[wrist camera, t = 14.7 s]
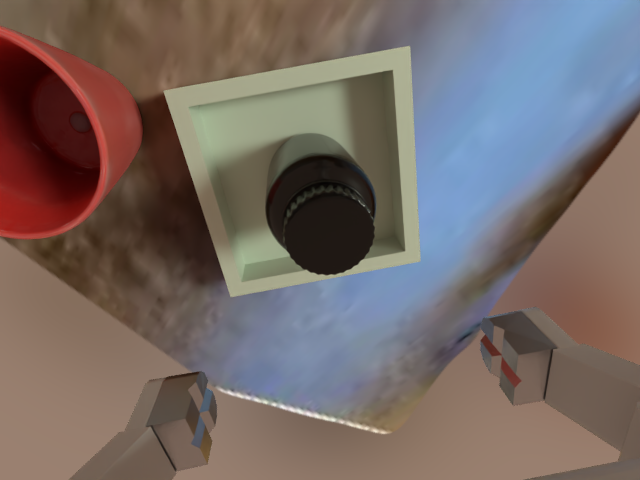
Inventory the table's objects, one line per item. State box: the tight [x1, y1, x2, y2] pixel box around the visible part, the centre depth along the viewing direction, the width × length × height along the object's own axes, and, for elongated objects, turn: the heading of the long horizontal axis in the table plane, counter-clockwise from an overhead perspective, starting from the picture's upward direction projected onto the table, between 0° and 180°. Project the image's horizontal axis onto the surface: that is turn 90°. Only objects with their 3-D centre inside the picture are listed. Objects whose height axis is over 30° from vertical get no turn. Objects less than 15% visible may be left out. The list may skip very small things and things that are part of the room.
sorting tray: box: [164, 46, 420, 297], centre depth 28 cm, size 16×16×4 cm
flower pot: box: [0, 26, 143, 239], centre depth 22 cm, size 11×11×10 cm
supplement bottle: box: [265, 133, 377, 276], centre depth 24 cm, size 7×7×12 cm
